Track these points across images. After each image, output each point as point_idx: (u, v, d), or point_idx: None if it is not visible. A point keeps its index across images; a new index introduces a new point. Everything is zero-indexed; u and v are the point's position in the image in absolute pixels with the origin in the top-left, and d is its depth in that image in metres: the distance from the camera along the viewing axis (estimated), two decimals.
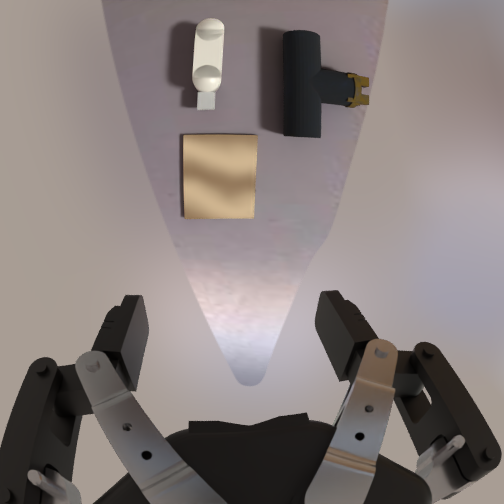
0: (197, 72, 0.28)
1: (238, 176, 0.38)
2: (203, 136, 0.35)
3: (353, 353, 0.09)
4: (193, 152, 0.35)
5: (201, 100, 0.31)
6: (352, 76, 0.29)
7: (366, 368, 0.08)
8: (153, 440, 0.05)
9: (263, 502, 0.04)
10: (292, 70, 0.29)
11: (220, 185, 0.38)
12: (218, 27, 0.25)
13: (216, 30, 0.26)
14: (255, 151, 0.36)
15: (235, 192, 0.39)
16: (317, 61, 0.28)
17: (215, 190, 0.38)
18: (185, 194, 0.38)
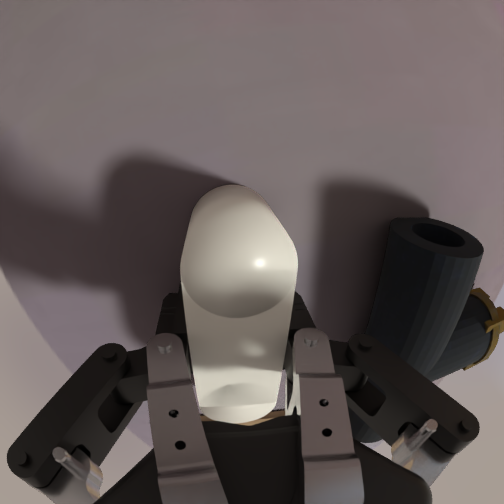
0: (211, 398, 0.11)
1: None
2: None
3: None
4: None
5: None
6: (492, 328, 0.12)
7: (302, 361, 0.08)
8: (193, 433, 0.05)
9: (263, 502, 0.04)
10: None
11: None
12: (275, 261, 0.08)
13: (266, 276, 0.08)
14: None
15: None
16: (454, 326, 0.11)
17: None
18: None
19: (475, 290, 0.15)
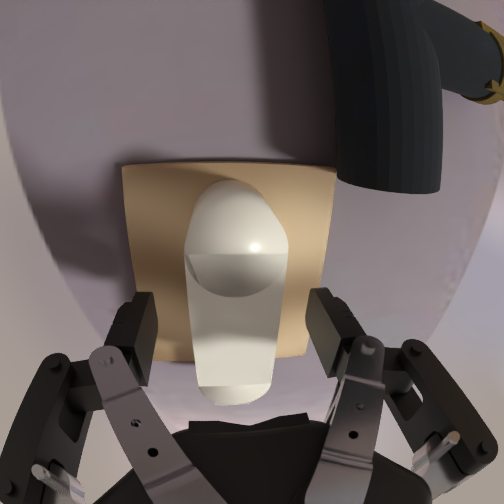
0: (209, 377, 0.12)
1: None
2: (179, 169, 0.12)
3: (340, 349, 0.09)
4: (152, 218, 0.12)
5: None
6: (489, 30, 0.06)
7: (354, 365, 0.08)
8: (160, 438, 0.05)
9: (263, 502, 0.04)
10: None
11: None
12: (267, 245, 0.09)
13: (260, 258, 0.09)
14: (327, 213, 0.13)
15: None
16: None
17: None
18: None
19: None
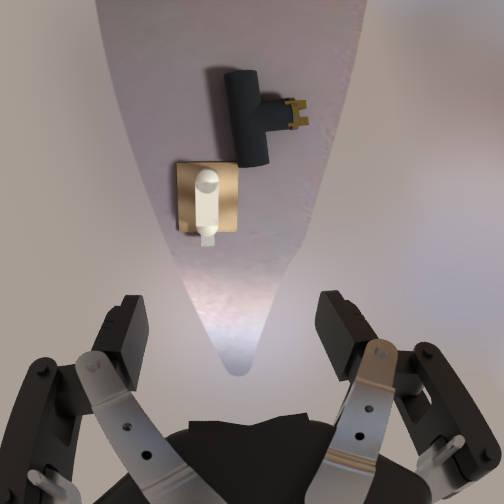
0: (199, 221, 0.43)
1: (223, 197, 0.46)
2: (193, 164, 0.43)
3: (353, 353, 0.09)
4: (185, 178, 0.43)
5: (203, 239, 0.46)
6: (289, 102, 0.37)
7: (366, 368, 0.08)
8: (153, 440, 0.05)
9: (263, 502, 0.04)
10: (234, 110, 0.37)
11: None
12: (213, 180, 0.40)
13: (212, 183, 0.40)
14: (237, 176, 0.44)
15: (220, 210, 0.47)
16: (255, 96, 0.36)
17: None
18: (179, 212, 0.46)
19: None
